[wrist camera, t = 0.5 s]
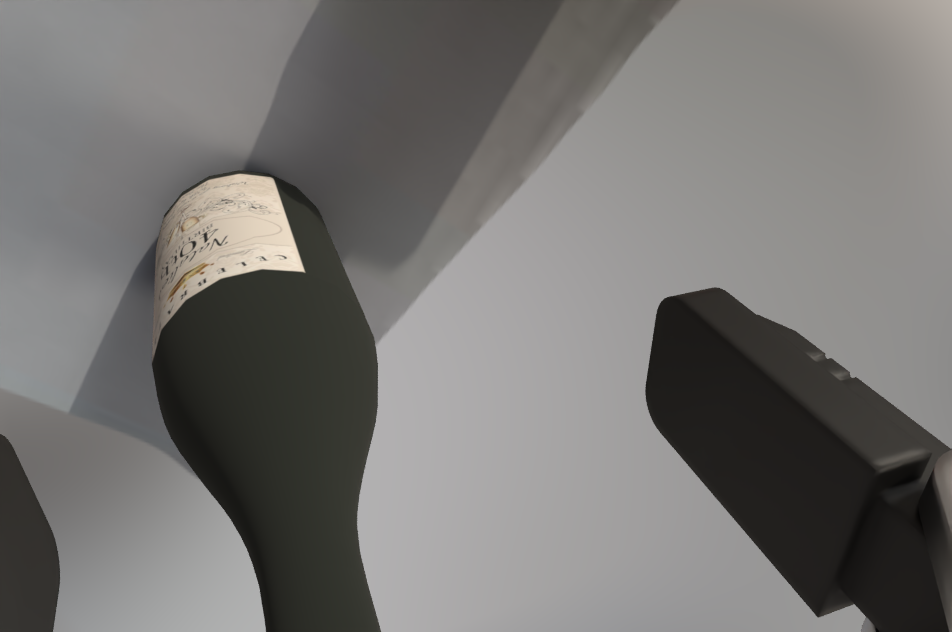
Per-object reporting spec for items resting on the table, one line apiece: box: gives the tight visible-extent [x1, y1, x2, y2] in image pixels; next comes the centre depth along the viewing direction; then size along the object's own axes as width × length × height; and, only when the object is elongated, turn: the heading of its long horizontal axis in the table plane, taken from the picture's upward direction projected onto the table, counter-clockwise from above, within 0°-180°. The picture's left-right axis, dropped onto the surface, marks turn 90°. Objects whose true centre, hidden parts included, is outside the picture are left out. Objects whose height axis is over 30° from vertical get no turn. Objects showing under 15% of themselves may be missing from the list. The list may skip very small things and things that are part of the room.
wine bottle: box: [152, 171, 381, 632], centre depth 24 cm, size 8×8×30 cm
